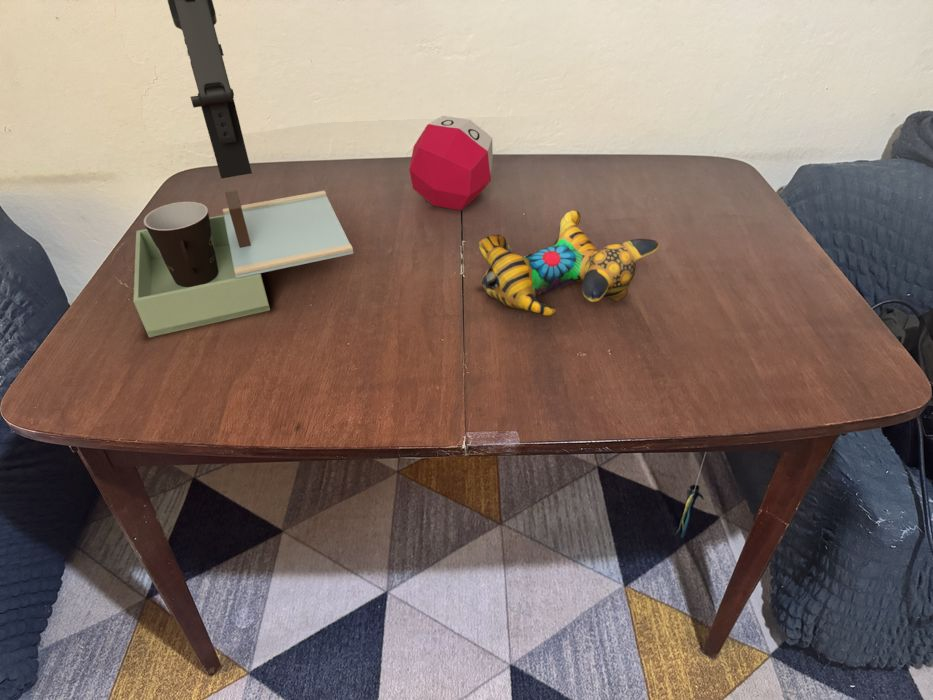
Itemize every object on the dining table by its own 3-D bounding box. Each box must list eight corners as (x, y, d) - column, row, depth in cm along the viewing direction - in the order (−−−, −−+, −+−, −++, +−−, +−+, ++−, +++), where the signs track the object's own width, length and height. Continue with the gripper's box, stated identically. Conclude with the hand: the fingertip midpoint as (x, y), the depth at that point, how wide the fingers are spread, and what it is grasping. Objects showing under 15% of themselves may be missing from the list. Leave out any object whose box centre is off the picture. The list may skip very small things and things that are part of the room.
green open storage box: (148, 337, 87) (133, 301, 83) (149, 264, 101) (136, 230, 98) (270, 310, 91) (260, 274, 87) (253, 243, 106) (244, 210, 102)
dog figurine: (480, 312, 96) (560, 366, 84) (460, 244, 88) (546, 293, 76) (577, 247, 102) (665, 288, 90) (566, 178, 94) (661, 213, 82)
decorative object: (398, 136, 102) (437, 87, 110) (391, 202, 115) (426, 154, 123) (483, 174, 101) (515, 122, 109) (466, 237, 114) (496, 185, 122)
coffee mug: (179, 260, 100) (158, 201, 94) (233, 260, 100) (216, 201, 93) (148, 303, 91) (122, 241, 85) (207, 303, 91) (186, 241, 84)
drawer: (236, 278, 86) (223, 234, 82) (223, 214, 101) (212, 174, 97) (353, 253, 91) (347, 211, 86) (325, 196, 105) (318, 157, 101)
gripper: (110, -123, 58) (181, 114, 71) (99, -105, 40) (197, 208, 53) (197, -127, 60) (250, 104, 73) (224, -112, 42) (288, 191, 55)
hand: (228, 148), depth 63 cm, fingers open, 13 cm apart
